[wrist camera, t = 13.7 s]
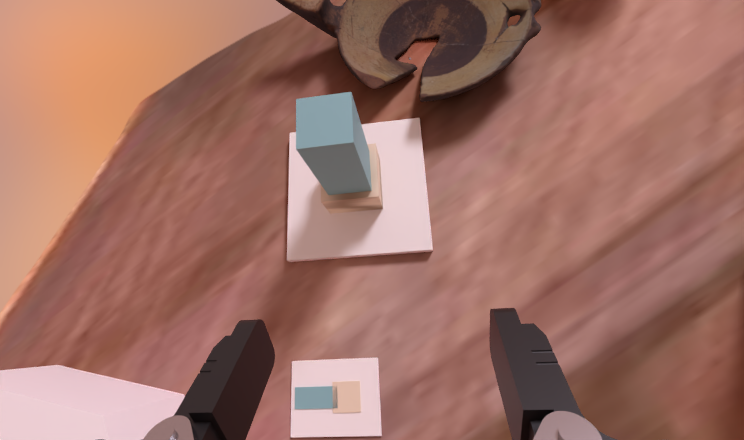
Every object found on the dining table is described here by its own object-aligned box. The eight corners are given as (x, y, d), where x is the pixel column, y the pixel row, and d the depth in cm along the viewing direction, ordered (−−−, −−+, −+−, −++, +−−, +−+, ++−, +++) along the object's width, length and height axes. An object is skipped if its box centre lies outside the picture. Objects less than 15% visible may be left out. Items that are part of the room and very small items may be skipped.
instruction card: (378, 357, 37) (377, 357, 37) (381, 435, 35) (381, 436, 34) (292, 361, 38) (291, 361, 38) (291, 436, 36) (290, 437, 35)
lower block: (380, 160, 42) (375, 143, 38) (383, 209, 40) (378, 196, 36) (329, 165, 43) (320, 149, 39) (330, 213, 41) (320, 201, 37)
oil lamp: (479, 150, 42) (490, 113, 35) (275, 63, 50) (250, 17, 42) (557, 8, 46) (582, -52, 39) (358, -52, 54) (348, -111, 47)
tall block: (369, 151, 38) (351, 91, 29) (371, 190, 37) (353, 142, 27) (327, 155, 39) (296, 99, 29) (328, 195, 37) (296, 149, 28)
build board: (419, 122, 44) (419, 117, 43) (432, 251, 39) (432, 249, 38) (292, 137, 46) (289, 132, 45) (289, 262, 41) (286, 260, 40)
